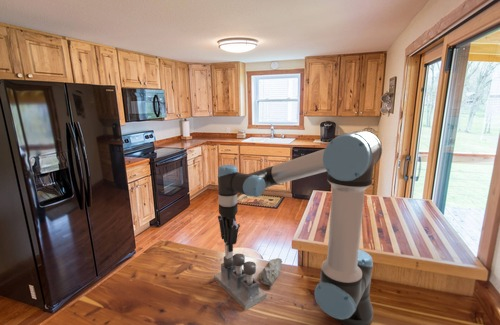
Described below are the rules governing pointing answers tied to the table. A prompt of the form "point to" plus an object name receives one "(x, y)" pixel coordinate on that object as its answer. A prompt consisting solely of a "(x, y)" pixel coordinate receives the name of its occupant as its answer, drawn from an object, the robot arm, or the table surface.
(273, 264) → the rock
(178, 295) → the table surface
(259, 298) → the square socket rack
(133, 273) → the table surface
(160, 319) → the table surface
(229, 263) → the knob
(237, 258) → the knob
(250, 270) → the knob
